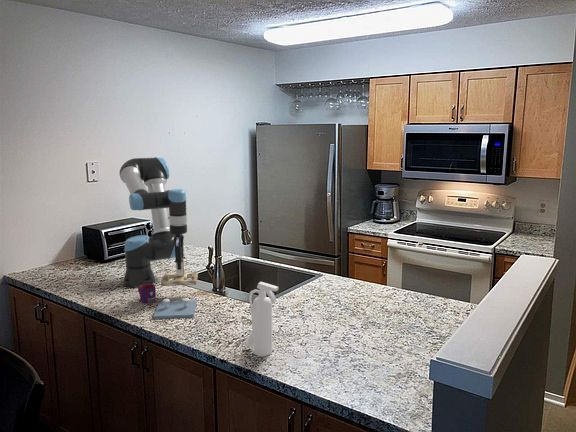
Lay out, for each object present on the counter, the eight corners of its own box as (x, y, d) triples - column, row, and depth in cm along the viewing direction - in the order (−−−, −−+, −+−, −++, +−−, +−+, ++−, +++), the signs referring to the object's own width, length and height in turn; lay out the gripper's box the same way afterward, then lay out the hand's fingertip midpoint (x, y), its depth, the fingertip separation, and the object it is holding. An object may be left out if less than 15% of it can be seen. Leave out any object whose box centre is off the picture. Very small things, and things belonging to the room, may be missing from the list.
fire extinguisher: (251, 342, 165) (251, 276, 160) (280, 351, 160) (281, 283, 154) (240, 350, 160) (240, 282, 154) (270, 360, 154) (271, 289, 148)
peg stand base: (197, 276, 215) (197, 256, 213) (195, 284, 204) (195, 263, 202) (165, 277, 213) (163, 256, 211) (161, 286, 203) (160, 264, 200)
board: (159, 304, 202) (159, 294, 201) (196, 302, 204) (196, 292, 203) (153, 319, 187) (152, 307, 186) (193, 317, 188) (193, 306, 188)
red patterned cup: (145, 304, 202) (144, 290, 201) (134, 299, 209) (133, 284, 208) (158, 300, 207) (158, 286, 206) (147, 295, 214) (146, 281, 212)
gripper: (172, 220, 213) (174, 268, 218) (167, 228, 197) (169, 280, 202) (188, 220, 213) (190, 268, 218) (184, 228, 198) (186, 280, 203)
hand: (180, 274), depth 210 cm, fingers closed on peg stand base, 3 cm apart
